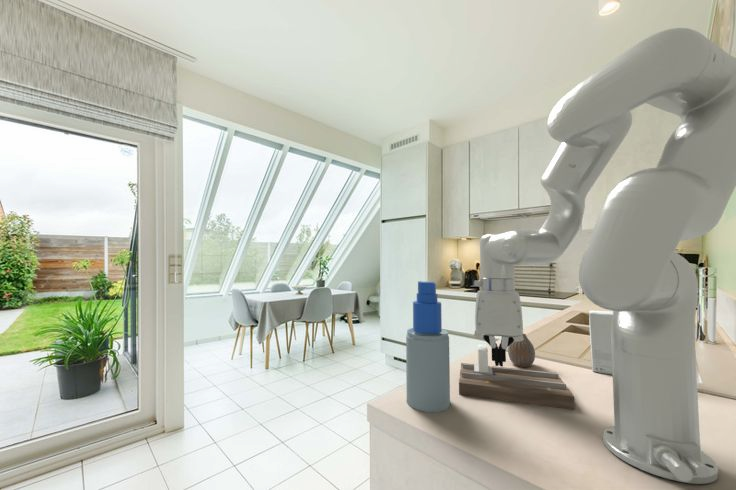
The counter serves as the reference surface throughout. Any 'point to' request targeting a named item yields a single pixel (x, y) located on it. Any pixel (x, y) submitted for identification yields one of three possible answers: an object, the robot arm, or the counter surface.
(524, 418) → the counter surface
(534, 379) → the fader console
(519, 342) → the vase
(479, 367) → the fader slider
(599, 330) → the skincare box
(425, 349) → the spray bottle
